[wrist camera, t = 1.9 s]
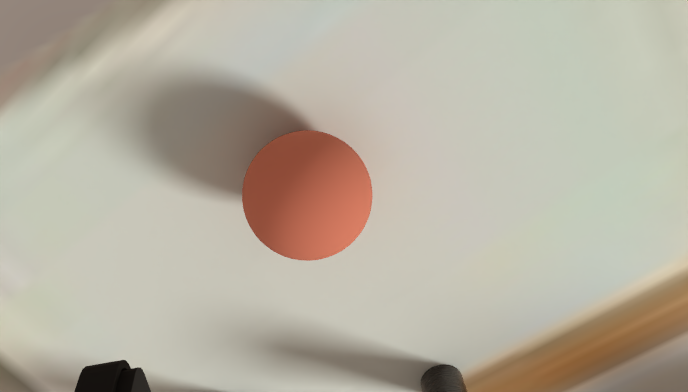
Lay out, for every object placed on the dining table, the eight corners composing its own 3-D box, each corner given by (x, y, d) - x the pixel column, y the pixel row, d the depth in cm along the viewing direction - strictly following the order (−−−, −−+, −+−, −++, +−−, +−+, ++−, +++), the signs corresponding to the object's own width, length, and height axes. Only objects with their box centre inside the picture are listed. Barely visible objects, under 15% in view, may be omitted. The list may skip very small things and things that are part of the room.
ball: (235, 119, 31) (226, 176, 26) (359, 103, 32) (375, 157, 26) (255, 224, 34) (251, 294, 29) (368, 210, 35) (385, 277, 29)
